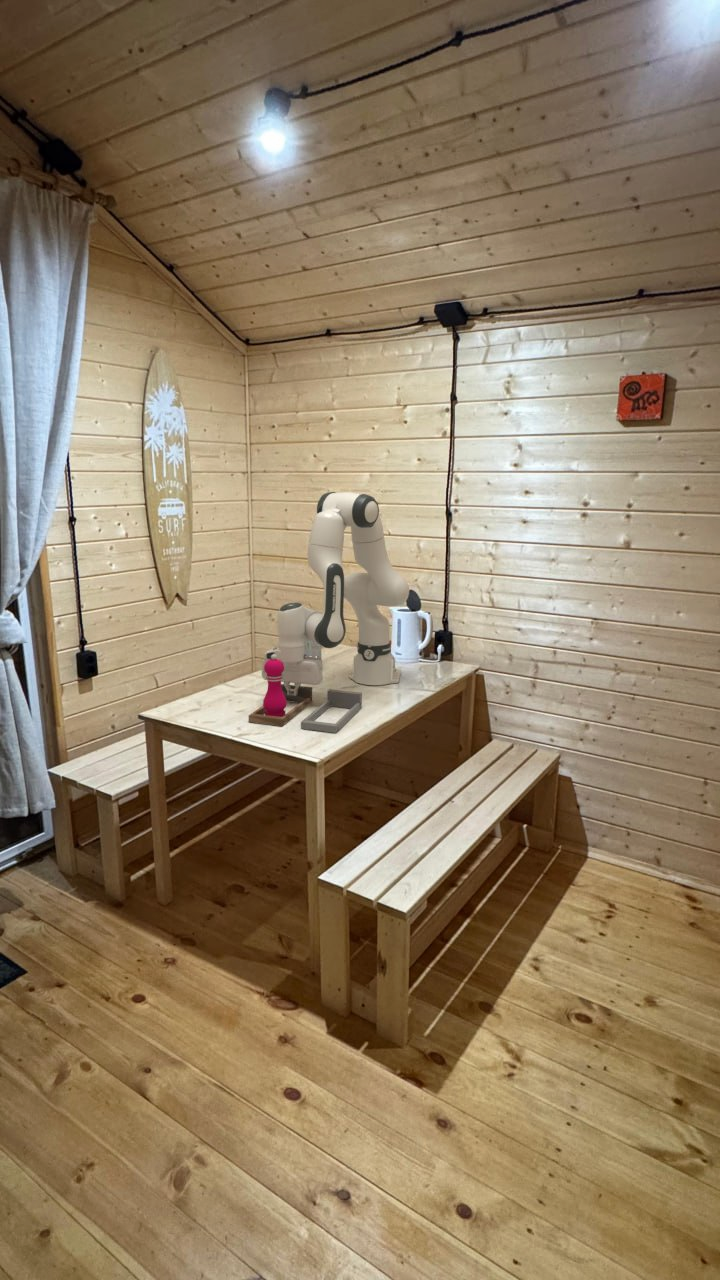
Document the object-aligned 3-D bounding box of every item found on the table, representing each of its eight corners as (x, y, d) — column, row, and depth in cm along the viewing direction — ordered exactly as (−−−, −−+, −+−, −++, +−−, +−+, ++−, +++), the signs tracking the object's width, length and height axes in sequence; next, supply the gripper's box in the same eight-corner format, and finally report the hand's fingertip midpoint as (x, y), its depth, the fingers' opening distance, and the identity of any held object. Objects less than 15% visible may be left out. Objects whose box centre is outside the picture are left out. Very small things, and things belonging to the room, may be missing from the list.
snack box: (296, 658, 282) (296, 622, 278) (309, 657, 284) (309, 621, 280) (308, 672, 262) (308, 633, 259) (322, 671, 264) (322, 632, 260)
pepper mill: (287, 713, 217) (286, 651, 212) (286, 721, 210) (285, 657, 205) (264, 713, 216) (263, 651, 212) (262, 721, 209) (260, 657, 205)
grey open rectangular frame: (329, 703, 225) (329, 689, 224) (361, 707, 222) (361, 692, 221) (300, 728, 203) (300, 712, 202) (336, 732, 200) (336, 716, 199)
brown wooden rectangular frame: (281, 698, 230) (281, 684, 229) (312, 701, 227) (312, 687, 226) (248, 721, 208) (248, 706, 207) (282, 726, 205) (281, 710, 204)
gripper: (325, 654, 221) (325, 695, 224) (267, 649, 227) (268, 689, 230) (318, 658, 215) (318, 701, 218) (258, 653, 221) (260, 694, 225)
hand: (292, 695), depth 224 cm, fingers closed
